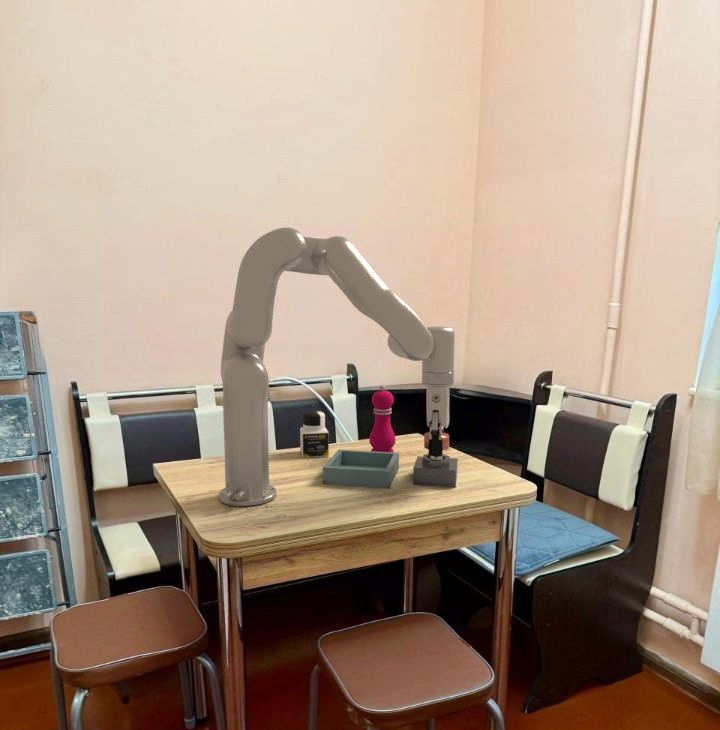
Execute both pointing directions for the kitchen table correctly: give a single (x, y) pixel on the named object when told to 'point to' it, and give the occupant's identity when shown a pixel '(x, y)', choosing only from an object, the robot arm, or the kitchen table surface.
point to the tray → (361, 468)
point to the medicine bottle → (314, 435)
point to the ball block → (435, 471)
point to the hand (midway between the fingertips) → (436, 451)
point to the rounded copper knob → (444, 445)
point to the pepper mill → (382, 422)
